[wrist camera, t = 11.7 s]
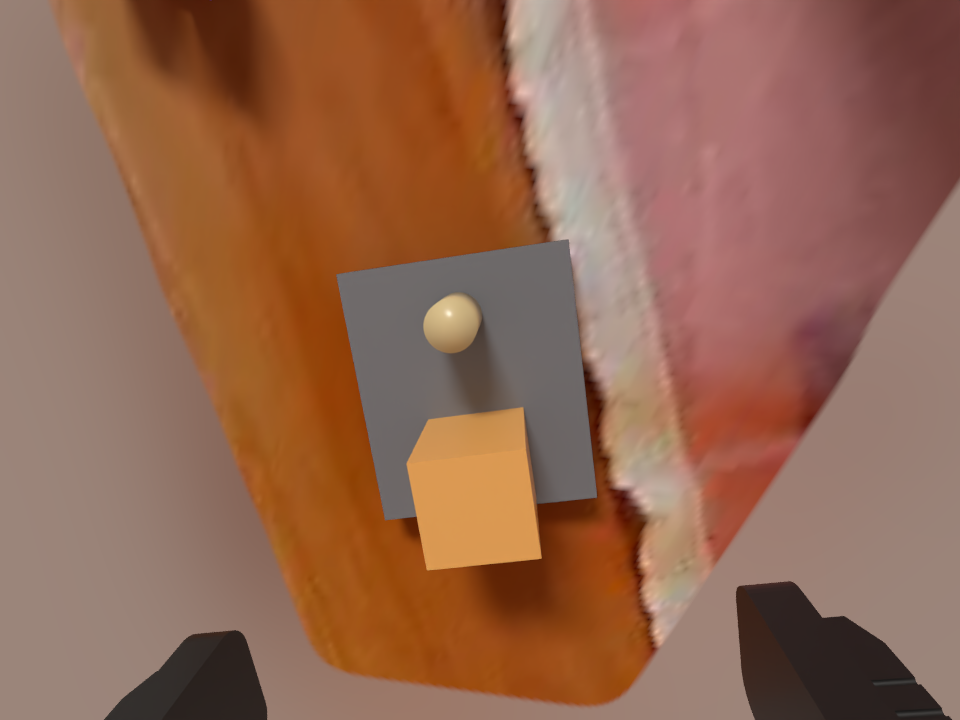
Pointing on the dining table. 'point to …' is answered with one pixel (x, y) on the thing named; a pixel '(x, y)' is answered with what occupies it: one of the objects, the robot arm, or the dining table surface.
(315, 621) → the dining table surface
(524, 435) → the orange wooden cube
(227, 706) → the robot arm
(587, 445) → the mounting plate
